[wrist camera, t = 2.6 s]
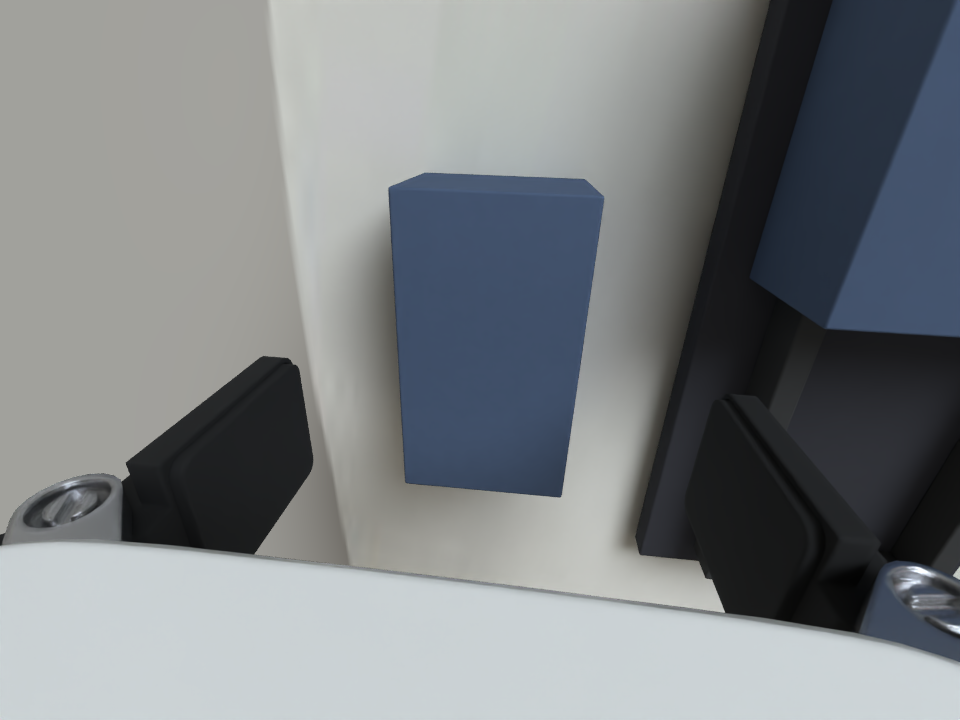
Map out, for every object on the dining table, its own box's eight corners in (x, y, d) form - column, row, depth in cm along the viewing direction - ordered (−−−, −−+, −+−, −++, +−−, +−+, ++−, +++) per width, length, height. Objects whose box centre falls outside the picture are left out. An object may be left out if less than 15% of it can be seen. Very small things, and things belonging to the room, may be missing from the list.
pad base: (634, 536, 20) (663, 652, 16) (813, -175, 10) (1031, -410, 6) (926, 565, 19) (1046, 696, 15) (1435, -186, 9) (2265, -475, 5)
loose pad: (429, 415, 18) (404, 484, 15) (423, 172, 14) (387, 186, 11) (555, 425, 18) (561, 498, 14) (586, 179, 14) (605, 195, 10)
